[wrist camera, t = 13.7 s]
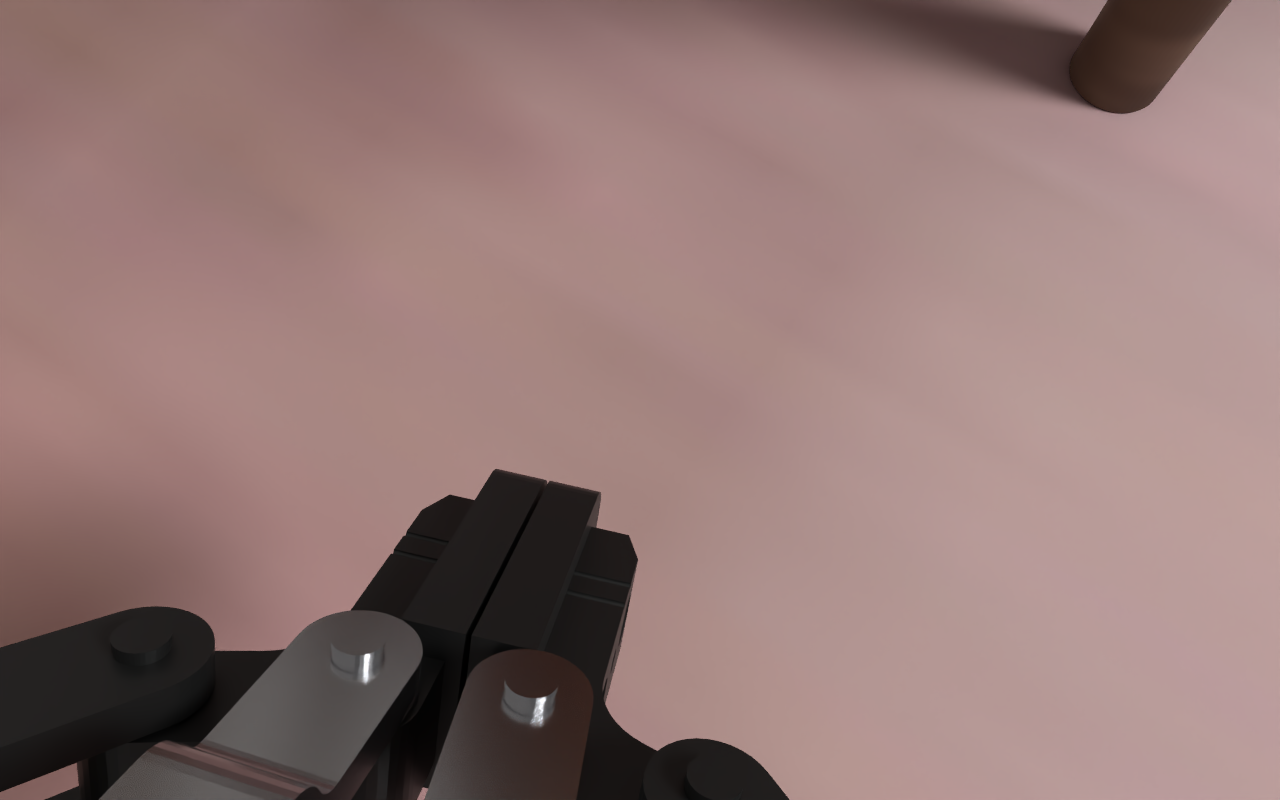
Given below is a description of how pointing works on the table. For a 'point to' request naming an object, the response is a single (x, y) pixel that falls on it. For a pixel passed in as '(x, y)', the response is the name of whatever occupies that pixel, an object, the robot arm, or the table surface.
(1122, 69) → the stand
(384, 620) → the robot arm
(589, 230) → the table surface
